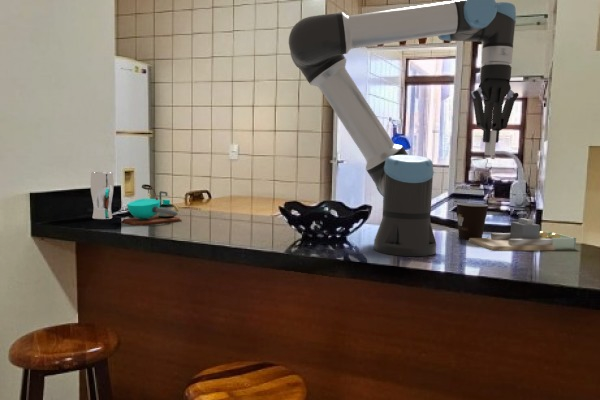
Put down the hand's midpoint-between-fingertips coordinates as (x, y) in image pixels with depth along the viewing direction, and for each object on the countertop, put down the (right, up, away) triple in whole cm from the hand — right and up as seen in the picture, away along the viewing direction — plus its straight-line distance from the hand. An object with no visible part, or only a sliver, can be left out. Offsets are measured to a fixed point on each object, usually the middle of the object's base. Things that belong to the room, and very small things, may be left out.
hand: (489, 155), depth 141 cm
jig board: (+7, -25, +2) cm, 26 cm away
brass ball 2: (+19, -23, +4) cm, 30 cm away
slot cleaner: (+11, -23, +3) cm, 26 cm away
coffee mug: (-1, -23, +14) cm, 27 cm away
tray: (+19, -25, +5) cm, 31 cm away
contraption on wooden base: (-97, -20, +25) cm, 102 cm away
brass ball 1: (+17, -22, +6) cm, 29 cm away
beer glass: (-115, -18, +30) cm, 120 cm away
